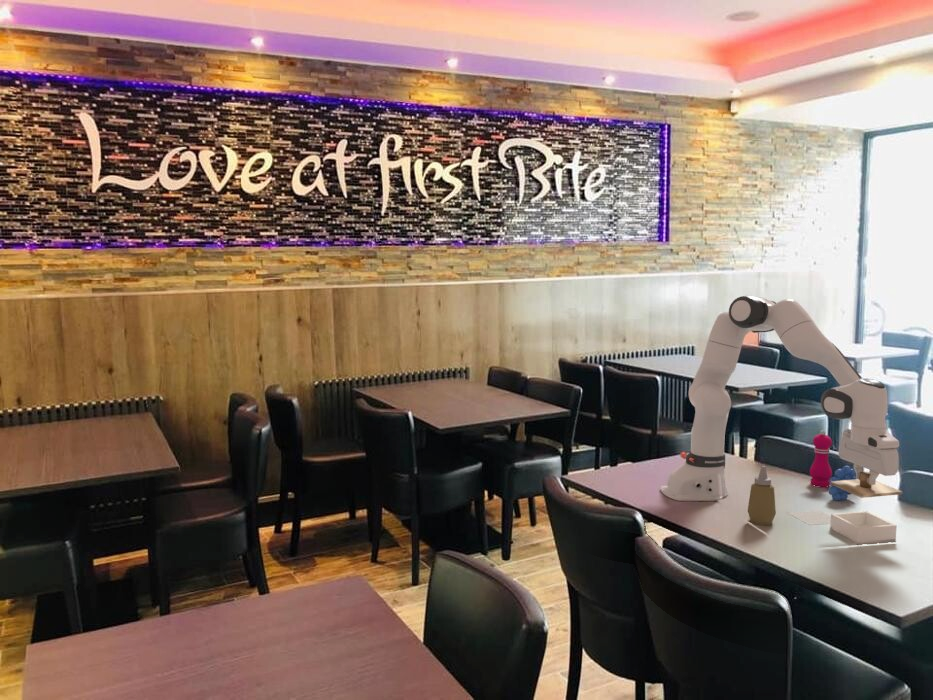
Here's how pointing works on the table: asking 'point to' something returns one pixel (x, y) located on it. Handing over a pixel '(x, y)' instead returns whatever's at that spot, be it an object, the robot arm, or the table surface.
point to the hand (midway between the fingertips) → (865, 481)
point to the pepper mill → (821, 461)
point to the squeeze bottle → (762, 500)
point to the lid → (865, 487)
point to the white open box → (863, 527)
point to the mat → (812, 517)
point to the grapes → (841, 474)
